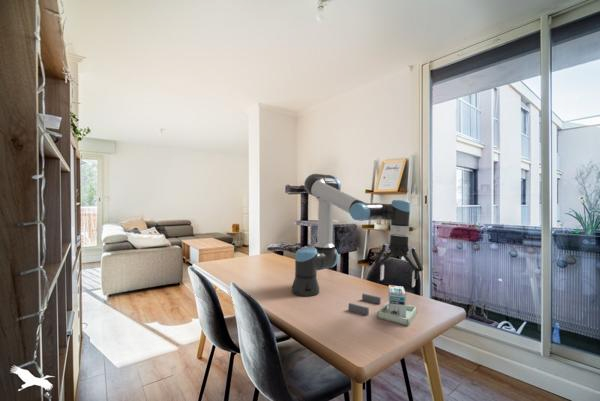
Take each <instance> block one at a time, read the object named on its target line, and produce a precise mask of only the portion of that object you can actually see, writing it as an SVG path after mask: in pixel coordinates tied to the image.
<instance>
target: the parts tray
mask: <svg viewBox="0 0 600 401" xmlns="http://www.w3.org/2000/svg"><path fill="white" fill-rule="evenodd" d="M417 314H418V306H414V305H410V304H407V303H406V318H403V317H399V316H395V315H391V314H389V300H388V301H387V302H386V303H385V304H384V305H382V307H381V308H380V309H378V311H377V316H376V318H377V319H381V320H384V321H388V322H392V323H396V324H398V325H399V324H400V325H404V326H407V327H409V326H410V324H411V322H413V319H414V318H415V317H416V315H417Z"/></svg>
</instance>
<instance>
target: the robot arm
mask: <svg viewBox="0 0 600 401" xmlns="http://www.w3.org/2000/svg"><path fill="white" fill-rule="evenodd" d="M303 184H304V186H303V187H304V189H305V191H306V193H308V194H309V195H311V196H313V197H315V198H316V200H317V201H318V211H317V212H318V214H317V215H318V216H317V237H316V238H317V240H316V243H315V244H314V246H313V247H312V246H311V247H310V246H307V247H301V248H299V249H297V250H296V251H295V258H294V259H295V268H294V276H295V277H294V279H293V282H292V285H291V293H292V294H293V295H296V296H300V297H312V296H313V297H314V296H317V295H319V294H320V285H319V282H318V279H317V272H318V271H322V270H329V269H332V268H333V267H335V266H336V265H337V264H338V262H339V259H340V258H339V256H340V255H339V253H338V250H337V249H336V248H335V246H336V245H335V244H333V233H334V232H333V230H334V229H333V228H334V227H333V226H334V220H333V219H334V206H335V207H336V208H339V209H341V210H342V211H345V212H346V213H348V214H350V215H349V216H350V217H351V218H352V219H353V220H354V221H360V222H362V221H374V220H375V221H378V220H382V221H390V235H389V237H390V238H389V239H390V240H389V244H387V243H384V244H382V245H381V250H380V251H379V253H378V255H377V257H375V260H374V263H375V264H377V265H378V272H379V273H380V275H379V277H380V278H379V280H380V281H383V280H384V279H385V264H384V263H385V262H386V261H387V260H388V259H390V258H391V256H394V257H400V258H402V257H403V258H404V259H405V261H407V264H408V265H409V266H410V267H411V268H412V270H413V271H411V272H412V276H411V277H412V278H411V288H414V287H415V286H416V280H418V279H419V272H422V271H424V267H423V265H422V262H421V260H420V258H419V256H418V254H417V248H416V247H409V234H410V231H409V230H410V214H411V208H410V207H411V206H410V201H409V200H401V199H393V200H391V203H379V202H373V203H371V202H369V203H368V202H364V201H363V200H360V199H359V198H356V197H354V196H352V195H350V194H348V193H346V192H344V191H342V189H341V188H342V184H341V182H340V179H338V177H337V176H335V175H330V174H321V173H320V174H319V173H312V174H309V175H308V176H307V177H306V179H305V181H304V183H303ZM387 249H389V250H390V252H388V253H387V255H385V257H383V256H384V254H385V252H386V250H387ZM408 252H410V254H412V258H413V260H414V261H413V260H412V258H411V257H410V255H409V254H408ZM382 257H383V258H382Z"/></svg>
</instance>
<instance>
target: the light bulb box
mask: <svg viewBox="0 0 600 401" xmlns="http://www.w3.org/2000/svg"><path fill="white" fill-rule="evenodd" d="M388 301H389V314H391V315H395V316H399V317H403V318H406V304H407V291H406V290H405V288H404V286H401V285H399V286H398V285H392V284H389V285H388Z"/></svg>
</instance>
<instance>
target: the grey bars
mask: <svg viewBox="0 0 600 401" xmlns="http://www.w3.org/2000/svg"><path fill="white" fill-rule="evenodd" d="M361 295H362V296H361V299H362V301H365V302H369V303H373V304H378V305H380V304H381V302H382V301H381V300H382V297H381V296H376V295H373V294H372V295H371V294H367V293H362V294H361ZM381 305H382V304H381ZM369 310H370V307H367V306H365V305H364V306H363V305H359V304H356V303H351V302H349V303H348V311H350V312H354V313H358V314H361V315H364V316H365V315H366V316H369Z"/></svg>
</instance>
